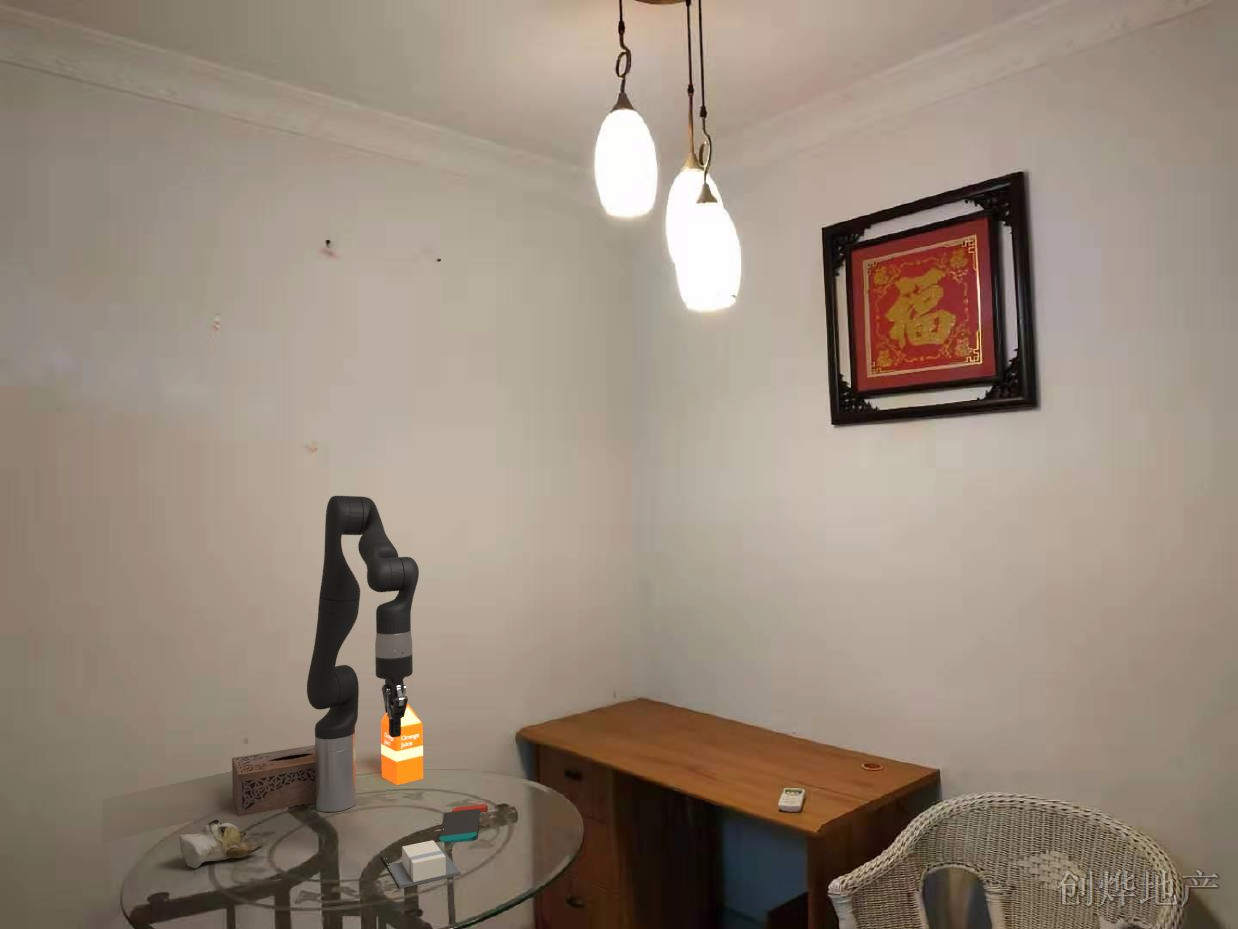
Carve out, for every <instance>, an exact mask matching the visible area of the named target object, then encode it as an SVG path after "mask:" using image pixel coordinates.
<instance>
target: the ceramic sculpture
mask: <svg viewBox="0 0 1238 929" xmlns="http://www.w3.org/2000/svg"><path fill="white" fill-rule="evenodd" d="M247 834H248V833H247V832H242V833H240V830H239V828H238V827H237V826H236V825H235V824H233V823H231V822H226V821H225V822H221V823H220V822H219V820H218V819H213V820H212V821H209V822H208V823H207V824H206V825H204V827H203V829H202V830H201V831H200V832H198V833H185V834H183V833H181V834H179V837H178V838H179V848H180V853H181V855H182V856H183V858H184V861H185V863H186V866H188V867H189V868H193V869H198V868H199V867H201V865H202V864H203V863H205V862H220V861H225V860H228V859H234V858H235V859H240V858H241V859H242V858H245V857H247V856H249V855H252V854H253V853H255V852H256V851H258V850H260V849H261V848H262V846H263V845H254V844H252V843H250V842H242V840H243V839H244V838H245V837H246V836H247Z"/></svg>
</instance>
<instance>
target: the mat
mask: <svg viewBox="0 0 1238 929" xmlns="http://www.w3.org/2000/svg"><path fill="white" fill-rule="evenodd" d="M435 843H436V845H437V846H438V847H439V849H440V850H441V851H442V852H443V854H444V855H445V857H446V875H443V876H439V877H434V878H430V879H425V880H421V881H416V882H413V881H412V879H411V878H410V876H409V874H408V873H407V871H406V869H405V868H404V866H403V865H402V862H400V863H394V862H392V863H389V864H388V863H387V865H392V866H388V867H389V869H390V871H391V873H392V875H393V876H392V875H391V876H392V878H393V877H394V878H393V880H394V881H395V883H396V884H397V886H398V888H399V889H404V888H407V887H412V886H413V887H414V886H417V885H422V884H425V883H430V882H436V881H440V880H443V879H448V878H452V877H457V876H461V871H460V870H459V868H458V867H457V865H455V863H454V862H453V860H452V859H451V858H450V856H449V855H448V854H447V853H446V851H445V850H444V849H443V848H442V847H441V845H440V843H438V842H435ZM384 859H385V858H384ZM386 859H387V858H386ZM401 859H402V858H401ZM390 871H389V872H390ZM391 873H390V874H391Z"/></svg>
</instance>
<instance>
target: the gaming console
mask: <svg viewBox="0 0 1238 929" xmlns="http://www.w3.org/2000/svg"><path fill="white" fill-rule="evenodd" d="M488 808H489V806H488V805H487V804H481V803H480V804H474V805H464V806H457V807H454V808H452V809H451V811H449V812H446V811H445V812H444V813H443V818H442V822H441V827H440V832H439V838H438V841H439V840H441V841H443V842H450V843H463V842H472V841H475V840H477V839H478V837H479V829H480V828H479V827H480V826H479V824H480V816H481V812H487V811H488V810H489V809H488ZM443 828H444V831H443ZM442 832H443V833H442ZM440 834H441V835H440Z"/></svg>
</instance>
